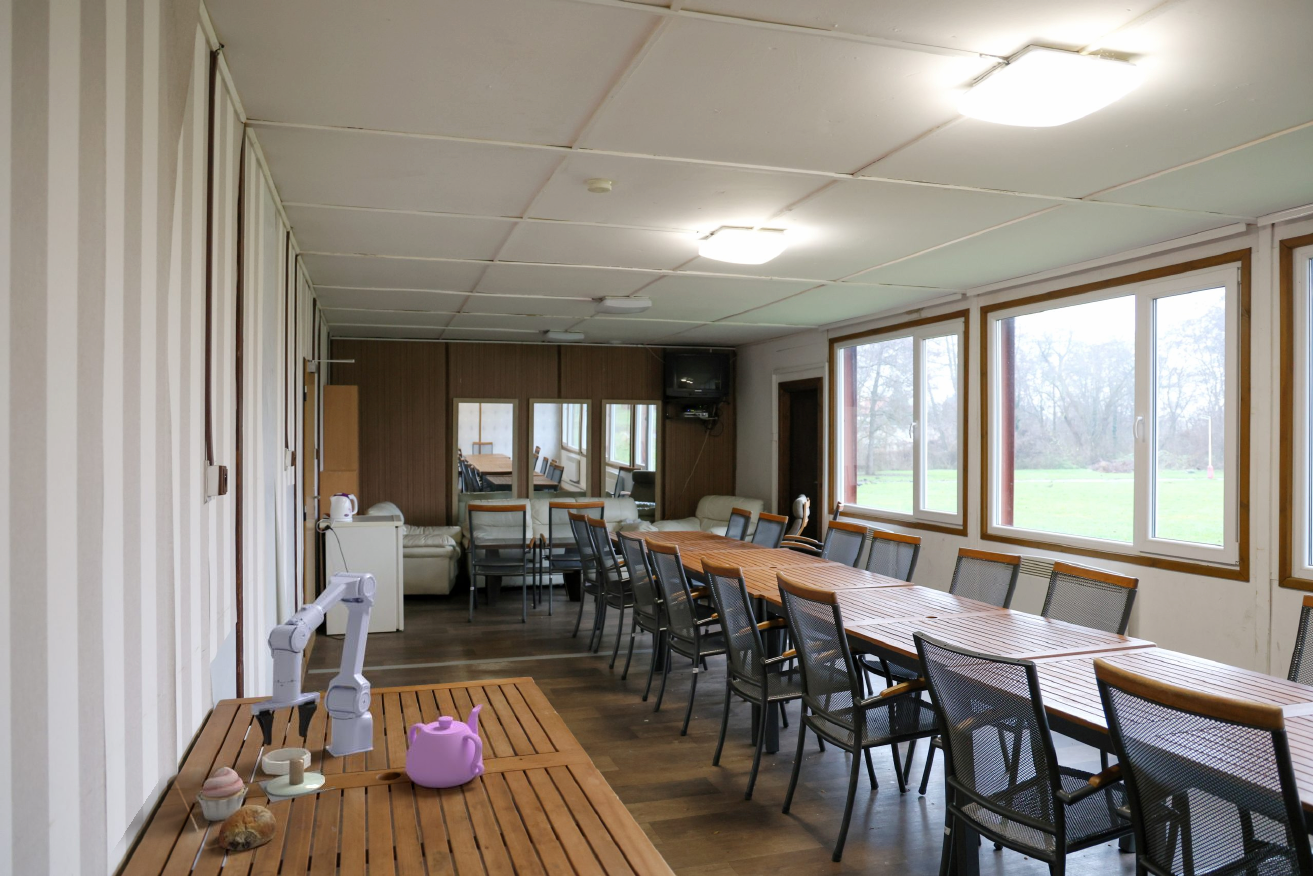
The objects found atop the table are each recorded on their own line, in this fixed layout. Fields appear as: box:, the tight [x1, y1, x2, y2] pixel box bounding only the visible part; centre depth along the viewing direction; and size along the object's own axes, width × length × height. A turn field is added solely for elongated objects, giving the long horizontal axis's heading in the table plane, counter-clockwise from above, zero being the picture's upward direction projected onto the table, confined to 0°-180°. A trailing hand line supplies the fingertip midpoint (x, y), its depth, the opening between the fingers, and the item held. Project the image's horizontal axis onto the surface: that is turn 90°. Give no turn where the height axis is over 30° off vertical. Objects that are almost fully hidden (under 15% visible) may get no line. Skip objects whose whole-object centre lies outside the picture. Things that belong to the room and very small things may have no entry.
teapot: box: [405, 704, 485, 789], centre depth 197 cm, size 22×22×14 cm
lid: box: [267, 758, 326, 796], centre depth 188 cm, size 12×12×6 cm
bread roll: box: [218, 804, 278, 851], centre depth 163 cm, size 10×10×8 cm
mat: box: [257, 769, 336, 803], centre depth 187 cm, size 13×13×1 cm
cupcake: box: [196, 766, 249, 822], centre depth 172 cm, size 9×9×10 cm
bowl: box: [261, 747, 312, 776], centre depth 198 cm, size 10×10×3 cm
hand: (285, 740), depth 189 cm, fingers open, 7 cm apart
